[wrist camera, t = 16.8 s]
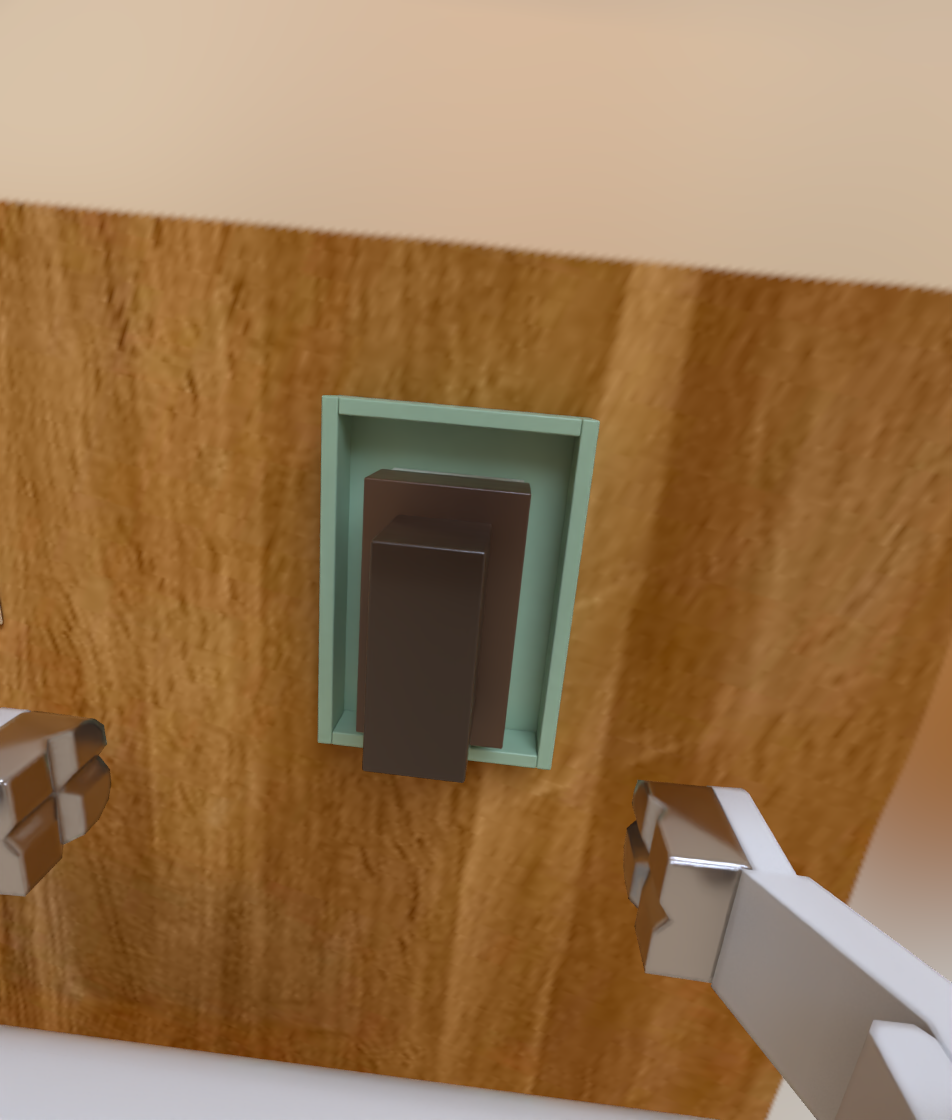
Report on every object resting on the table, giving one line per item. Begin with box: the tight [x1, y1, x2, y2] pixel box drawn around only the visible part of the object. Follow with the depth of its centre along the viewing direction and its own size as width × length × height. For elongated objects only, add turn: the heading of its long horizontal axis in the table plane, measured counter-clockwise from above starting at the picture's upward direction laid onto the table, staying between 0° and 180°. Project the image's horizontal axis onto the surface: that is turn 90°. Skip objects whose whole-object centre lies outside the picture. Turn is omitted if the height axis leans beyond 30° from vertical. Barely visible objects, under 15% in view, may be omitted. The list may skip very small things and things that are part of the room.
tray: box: [318, 395, 600, 770], centre depth 19 cm, size 8×12×2 cm
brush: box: [356, 468, 531, 783], centre depth 17 cm, size 4×8×6 cm, turn 175°
